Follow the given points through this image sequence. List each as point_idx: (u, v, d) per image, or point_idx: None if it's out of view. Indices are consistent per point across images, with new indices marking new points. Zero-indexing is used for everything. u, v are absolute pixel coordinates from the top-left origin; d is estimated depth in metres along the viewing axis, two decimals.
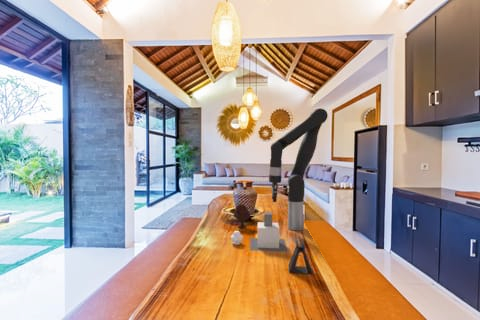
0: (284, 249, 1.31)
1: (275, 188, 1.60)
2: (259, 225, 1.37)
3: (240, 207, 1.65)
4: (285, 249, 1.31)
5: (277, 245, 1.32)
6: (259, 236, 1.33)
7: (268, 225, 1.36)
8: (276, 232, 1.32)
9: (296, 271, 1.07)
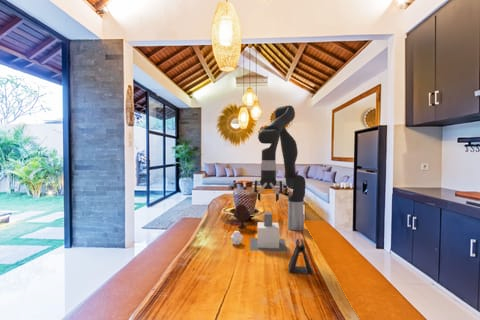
0: (284, 249, 1.31)
1: (281, 184, 1.36)
2: (259, 225, 1.37)
3: (240, 207, 1.65)
4: (285, 249, 1.31)
5: (277, 245, 1.32)
6: (259, 236, 1.33)
7: (268, 225, 1.36)
8: (276, 232, 1.32)
9: (296, 271, 1.07)
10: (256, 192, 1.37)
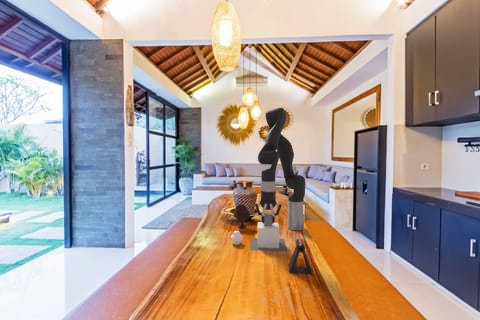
0: (284, 249, 1.31)
1: None
2: (259, 225, 1.37)
3: (240, 207, 1.65)
4: (285, 249, 1.31)
5: (277, 245, 1.32)
6: (259, 236, 1.33)
7: (268, 225, 1.36)
8: (276, 232, 1.32)
9: (296, 271, 1.07)
10: None
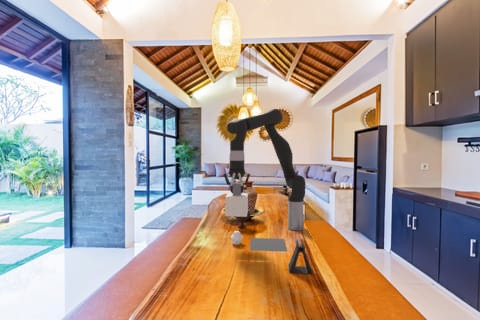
0: (284, 249, 1.31)
1: None
2: (228, 195, 1.38)
3: None
4: (285, 249, 1.31)
5: (245, 213, 1.33)
6: (227, 205, 1.33)
7: (236, 194, 1.36)
8: (243, 200, 1.33)
9: (296, 271, 1.07)
10: (229, 184, 1.38)
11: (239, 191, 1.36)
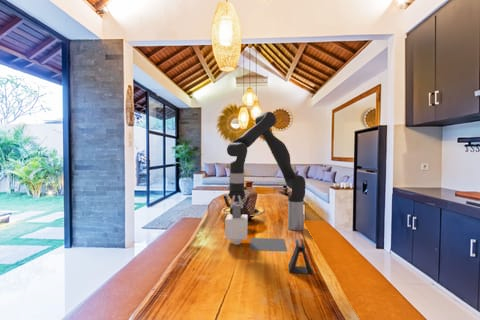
0: (284, 249, 1.31)
1: (248, 199, 1.38)
2: (228, 217, 1.38)
3: None
4: (285, 249, 1.31)
5: (245, 236, 1.33)
6: (227, 227, 1.34)
7: (236, 217, 1.37)
8: (243, 223, 1.33)
9: (296, 271, 1.07)
10: (229, 206, 1.38)
11: (239, 213, 1.36)
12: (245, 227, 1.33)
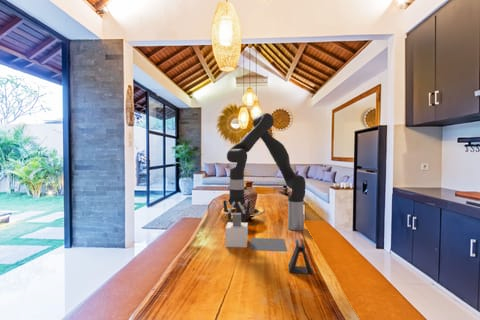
0: (284, 249, 1.31)
1: (249, 204, 1.38)
2: (228, 225, 1.38)
3: None
4: (285, 249, 1.31)
5: (245, 245, 1.34)
6: (227, 236, 1.34)
7: (237, 225, 1.37)
8: (243, 232, 1.33)
9: (296, 271, 1.07)
10: None
11: (239, 222, 1.37)
12: (245, 236, 1.33)
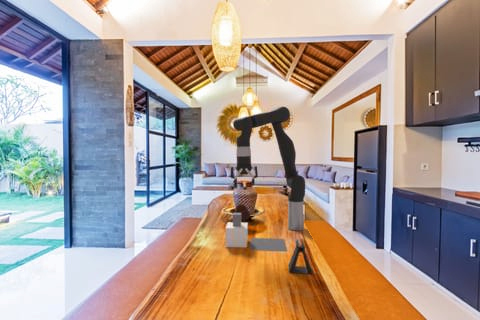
0: (284, 249, 1.31)
1: None
2: (228, 225, 1.38)
3: (240, 207, 1.65)
4: (285, 249, 1.31)
5: (245, 245, 1.34)
6: (227, 236, 1.34)
7: (237, 225, 1.37)
8: (243, 232, 1.33)
9: (296, 271, 1.07)
10: (233, 178, 1.42)
11: (239, 222, 1.37)
12: (245, 236, 1.33)
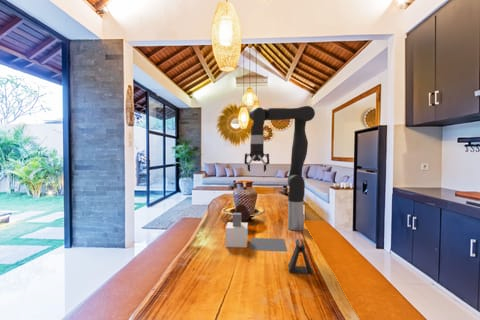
0: (284, 249, 1.31)
1: (268, 156, 1.54)
2: (228, 225, 1.38)
3: (240, 207, 1.65)
4: (285, 249, 1.31)
5: (245, 245, 1.34)
6: (227, 236, 1.34)
7: (237, 225, 1.37)
8: (243, 232, 1.33)
9: (296, 271, 1.07)
10: None
11: (239, 222, 1.37)
12: (245, 236, 1.33)
